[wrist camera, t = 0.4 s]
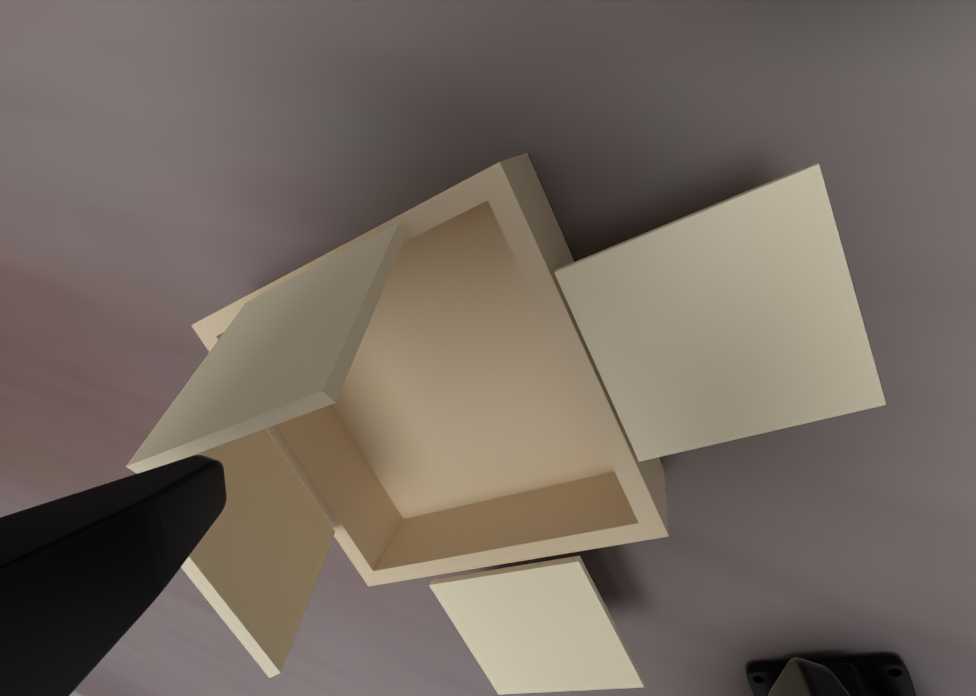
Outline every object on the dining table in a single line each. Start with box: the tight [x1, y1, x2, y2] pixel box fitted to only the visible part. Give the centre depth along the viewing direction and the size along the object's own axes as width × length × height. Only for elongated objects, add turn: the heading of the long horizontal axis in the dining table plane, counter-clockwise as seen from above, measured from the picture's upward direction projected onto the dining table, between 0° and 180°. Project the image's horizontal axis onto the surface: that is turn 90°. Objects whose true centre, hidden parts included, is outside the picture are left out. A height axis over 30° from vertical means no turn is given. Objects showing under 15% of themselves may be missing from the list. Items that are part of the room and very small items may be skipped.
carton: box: [191, 153, 886, 694], centre depth 20 cm, size 21×21×4 cm
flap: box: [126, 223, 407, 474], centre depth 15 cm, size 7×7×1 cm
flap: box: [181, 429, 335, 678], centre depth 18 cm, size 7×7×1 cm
